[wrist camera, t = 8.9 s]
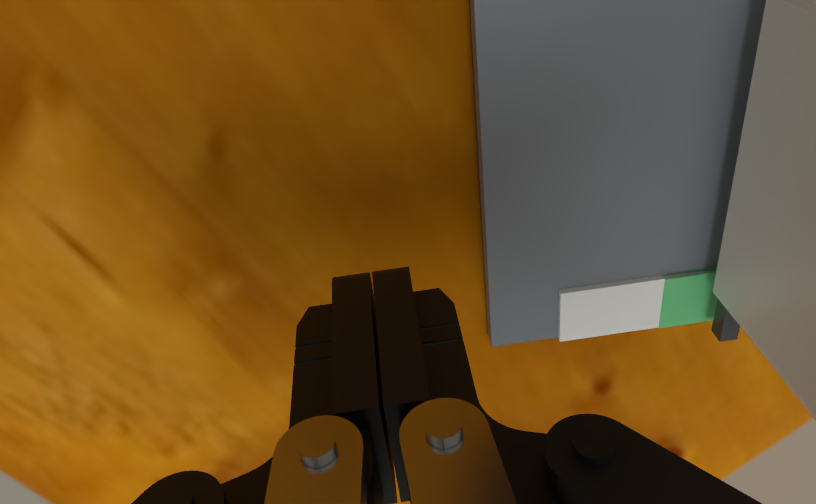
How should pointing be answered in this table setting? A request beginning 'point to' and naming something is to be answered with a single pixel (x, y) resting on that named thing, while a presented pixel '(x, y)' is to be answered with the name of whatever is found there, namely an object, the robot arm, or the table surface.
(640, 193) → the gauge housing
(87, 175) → the table surface
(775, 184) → the panel
